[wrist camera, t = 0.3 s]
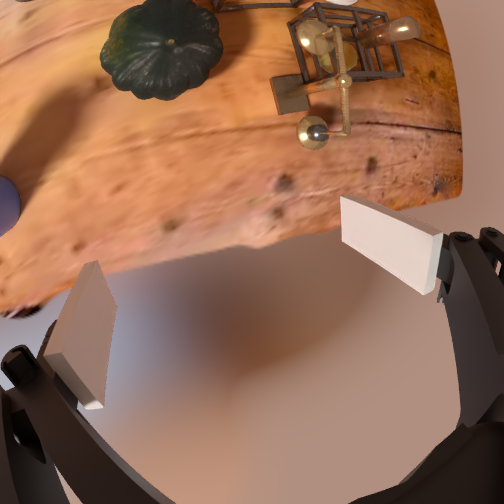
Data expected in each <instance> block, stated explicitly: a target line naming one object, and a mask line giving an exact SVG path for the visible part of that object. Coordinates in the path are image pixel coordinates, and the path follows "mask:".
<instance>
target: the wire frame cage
mask: <svg viewBox="0 0 504 504" xmlns="http://www.w3.org/2000/svg"><path fill="white" fill-rule="evenodd" d="M322 9H333V10H342V11H350V12H352V14H353V17H347V16H338V15H325V14H324V13H323V10H322ZM314 10H315V11H316V14H310V13H311V12H313V11H314ZM358 13H364V14H370V15H375V16H373V17H370V18H368V19H363V18H360V17H359V15H358ZM306 17H314V18H318V20H319V21H320V22H322V23H324V24H325V25H326V26H328V27H333V26H337V27H340V28H350V29H351V31H352V34H353V37H345V36H342V41H351V42H355V44H356V47H357V51H358V55H359V58H360V62H361V66H362V70H363V71H346V73H347V74H349V75H350V77H351V78H352V82H369V81H375V80H382V79H389V78H398V77H405V76H404V72H403V68H402V64H401V60H400V56H399V52H398V48H397V45H396V42H398V41H402V40H407V39H412V38H417V37H420V36H421V29H420V26H419V24H418V23H417V21H416V20H415V19H414V18H413V17H411V16H406V17H402V18H399V19H395V20H392V21H389V19H388V16H387V13H386V12H380V11H375V10H370V9H365V8H359V7H352V6H345V5H337V4H328V3H320V2H315V3H313V5H312V6H311V7H309V8H308V9H306V10H305V11H304V12H302V13H301V14H299V15H298V16H297V17H295V18H294V19H293V20H291V21H290V22H287V26H288V29H289V32H290V35H291V38H292V42H293V45H294V48H295V52H296V55H297V59H298V63H299V66H300V70H301V74H302V78H303V83H304V85H307V84H310V83H313V82H317V81H320V80H324V79H328V78H331V77H335V76H336V75H337V74H338V66H337V58H336V52H335V48H333V50H332V51H331V52H330V53H329V57H330V60H331V64H332V68H333V73H330V74H327V75H324V76H323V75H322V71H321V67H320V64H319V60H318V56H317V55H313V54H312V56H313V59H314V63H315V67H316V71H317V74H318V77H317V78H314V79H311V80H309V77H308V73H307V70H306V66H305V62H304V58H303V55H302V51H301V48H300V44H299V42H298V40H297V37H296V31H295V28H294V27H298V26H299V25H300V24H301V23H303V22H304V21H306ZM325 18H332V19H344V20H353V21H355V22H356V23H355V24H341V23H327V22H326V19H325ZM380 18H382V19H383V22H384V23H382V24H379V25H376V26H373V27H371V24H370V22H372V21H375V20H378V19H380ZM301 19H302V22H298V21H300V20H301ZM364 24H367V27H368V29H365V30H363V26H362V25H364ZM356 27H357V29H358V33H357V30H356ZM361 45H362V46H363V49H364V52H365V56H366V60H367V64H368V67H369V71H368V69H367V65H366V61H365V57H364V53H363V50H362V46H361ZM381 45H391V48H392V51H393V55H394V59H395V63H396V67H397V71H398V72H384V69H383V65H382V61H381V57H380V54H379V50H378V46H381ZM370 48H374V50H375V54H376V57H377V61H378V65H379V69H380V71H375V69H374V65H373V61H372V57H371V53H370V50H369V49H370Z"/></svg>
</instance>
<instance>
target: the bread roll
mask: <svg viewBox="0 0 504 504" xmlns="http://www.w3.org/2000/svg"><path fill="white" fill-rule="evenodd" d="M329 28H331V27H329ZM332 33H333V31H332ZM341 35H342V36H344V34H343V33H342V32H341ZM342 42H343V49H344V57H345V65H346V71H348V70H350V69H351V68H353V67H354V66H356V65H357V60H358V56H357V52H356V50H355V48H354V47H353V46H352V45H351V44H349V43H347V42H346V41H342ZM334 48H335V46H334ZM335 52H336V50H335ZM311 55H312V54H311ZM317 56H318V55H317ZM312 57H313V56H312ZM318 60H319V64H320V66H321V67H322V68H323V69H324V70H325V71H326V72H328V73H333V68H332V64H331V60H330V57H329V53H328V54H325V55H321V56H318Z"/></svg>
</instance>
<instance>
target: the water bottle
mask: <svg viewBox="0 0 504 504" xmlns="http://www.w3.org/2000/svg"><path fill="white" fill-rule="evenodd" d="M20 211H21V201H20V196H19V192H18V190H17V188H16V186H15V185H14V183H13V182H12V181H11V180H9V179H8V178H5V177H0V237H1V236H2V235H4V234H5V233H6V232H8V231H9V230H10V229H12V228H13V227H14V226H15V225H16V223H17V221H18V219H19V216H20Z"/></svg>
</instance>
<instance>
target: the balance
mask: <svg viewBox="0 0 504 504" xmlns="http://www.w3.org/2000/svg"><path fill="white" fill-rule="evenodd" d="M332 31H333V33H332ZM296 37H297V40H298V42H299V44H300V45H301V47H302V48H303V49H304V50H306V51H307V52H309V53H311V54H313V55H318V56H321V55H325V54H328V53H330V52H331V51H332V50H333V48H334V46H335V50H336V58H337V66H338V74H337V75H336V76H335V77H331V78H328V79H324V80H320V81H317V82H313V83H310V84H307V85H304V84H303V80H302V76H301V75H292V76H284V77H276V78H271V79H269V80H270V84H271V87H272V91H273V95H274V99H275V103H276V107H277V111H278V115H283V114H288V113H294V112H300V111H306V110H310V109H309V104H308V100H307V96H306V95H307V94H311V93H316V92H320V91H325V90H329V89H334V88H340V93H341V105H342V118H343V132H339V131H329V129H328V126H327V124H326V123H325V121H324V120H323V119H321V118H320V117H317V116H307V117H305V118H303V119H302V120H301V121H300V122H299V124H298V126H297V131H296V132H297V138H298V140H299V142H300V144H301V145H302V146H303V147H305V148H307V149H310V150H318V149H321V148H322V147H324V146H325V145H326V143H327V141H328V139H329V135H340V136H348V135H350V134H351V124H350V107H349V94H348V88H349V87H350V86H351V85H352V78H351V77H350V75H349V74H347V73H346V65H345V57H344V49H343V42H342V35H341V29H340V27H337V26H333V27H331V28H329V27H328V26H326V25H325V24H324V23H322V22H320V21H317V20H306V21H304V22H303V23H301V24H300V25H299V26H298V27H297V30H296Z"/></svg>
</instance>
